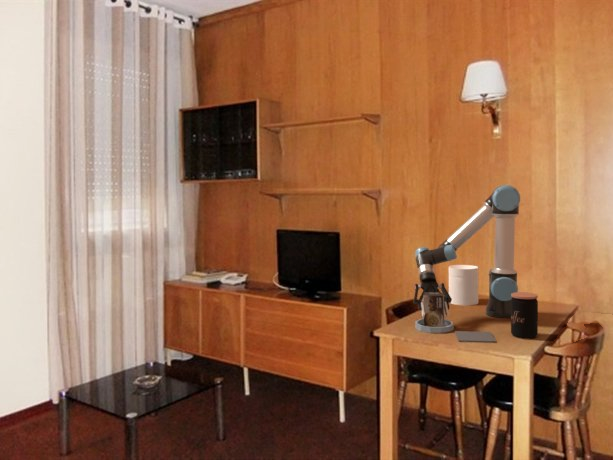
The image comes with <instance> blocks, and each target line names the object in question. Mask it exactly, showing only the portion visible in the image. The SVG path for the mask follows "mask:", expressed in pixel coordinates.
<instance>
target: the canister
mask: <svg viewBox="0 0 613 460" xmlns="http://www.w3.org/2000/svg"><path fill="white" fill-rule="evenodd" d="M448 294H449V295H450V297H451V298H452V300H451V303H450V304H452V305H456V306H476V305H478V304H479V266H478V265H471V264H453V265H449V266H448Z"/></svg>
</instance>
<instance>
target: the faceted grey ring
mask: <svg viewBox="0 0 613 460" xmlns="http://www.w3.org/2000/svg"><path fill="white" fill-rule="evenodd" d="M444 323H445V326H444V327H428V326H424V318H419V319H417V320H415V321H414V326H415V329H416V330H417V331H419V332H422V333H429V334H444V333H445V334H447V333H450V332H452V331H455V330H454V329H455V328H454V327H455V326H454V325H455V324H454V322H453V321H452V320H449V319H446V318H444Z"/></svg>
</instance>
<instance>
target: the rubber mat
mask: <svg viewBox="0 0 613 460" xmlns="http://www.w3.org/2000/svg"><path fill="white" fill-rule="evenodd" d="M454 334H455V336H456V338H457V341H458V342H459V343H497V340H496V338H495V337H494V335H493V334H492V333H491V331H469V330H468V331H467V330H466V331H465V330H463V331H462V330H460V331H459V330H454Z"/></svg>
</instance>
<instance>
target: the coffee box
mask: <svg viewBox="0 0 613 460" xmlns="http://www.w3.org/2000/svg"><path fill="white" fill-rule="evenodd" d="M422 302H423V307H424V312H425V316H424V317H423V319H424V324H423V326H428V327H444V326H446V325H445V323H444V319H445V309H444V293H443V292H441V293H434V292H425V293H424V295H423V299H422Z"/></svg>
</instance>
